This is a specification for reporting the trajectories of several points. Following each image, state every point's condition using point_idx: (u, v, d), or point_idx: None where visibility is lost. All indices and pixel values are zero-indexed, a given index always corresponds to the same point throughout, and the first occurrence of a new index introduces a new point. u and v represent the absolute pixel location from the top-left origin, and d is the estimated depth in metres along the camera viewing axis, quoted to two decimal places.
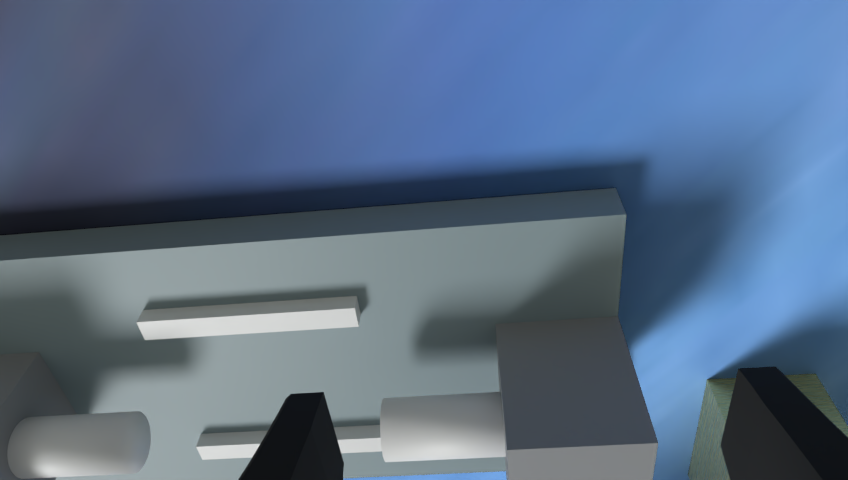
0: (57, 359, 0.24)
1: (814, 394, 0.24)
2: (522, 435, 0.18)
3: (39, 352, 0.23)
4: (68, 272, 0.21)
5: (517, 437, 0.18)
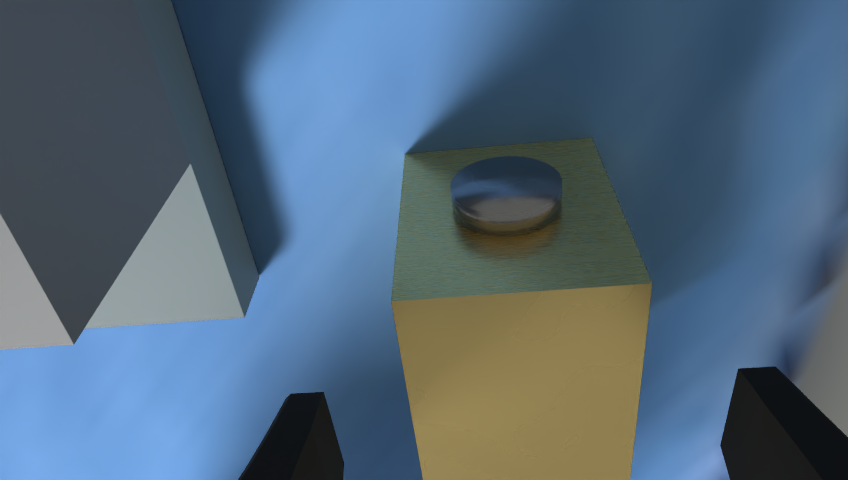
0: None
1: (577, 162, 0.13)
2: None
3: None
4: None
5: None
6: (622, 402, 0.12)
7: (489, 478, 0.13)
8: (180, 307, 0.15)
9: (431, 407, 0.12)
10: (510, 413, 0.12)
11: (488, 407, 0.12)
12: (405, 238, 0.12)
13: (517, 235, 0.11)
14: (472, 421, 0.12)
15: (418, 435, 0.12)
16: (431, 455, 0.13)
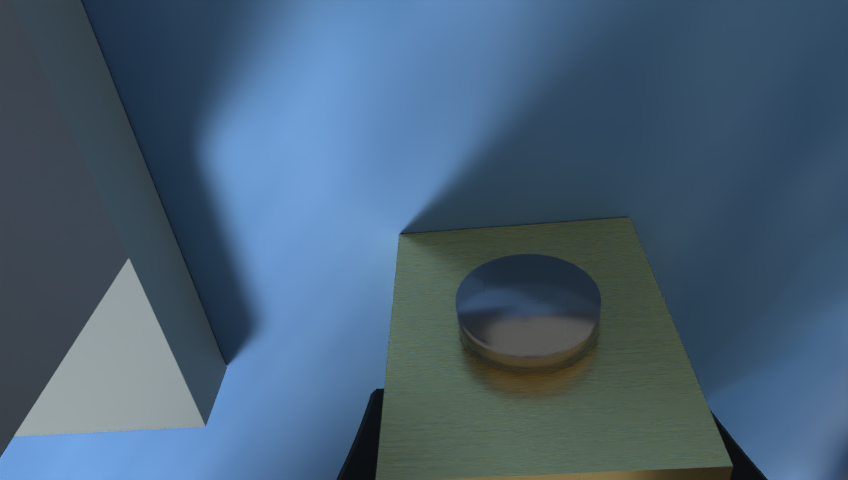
0: None
1: (615, 256, 0.11)
2: None
3: None
4: None
5: None
6: None
7: None
8: (127, 415, 0.12)
9: None
10: None
11: None
12: (396, 372, 0.09)
13: (542, 373, 0.09)
14: None
15: None
16: None
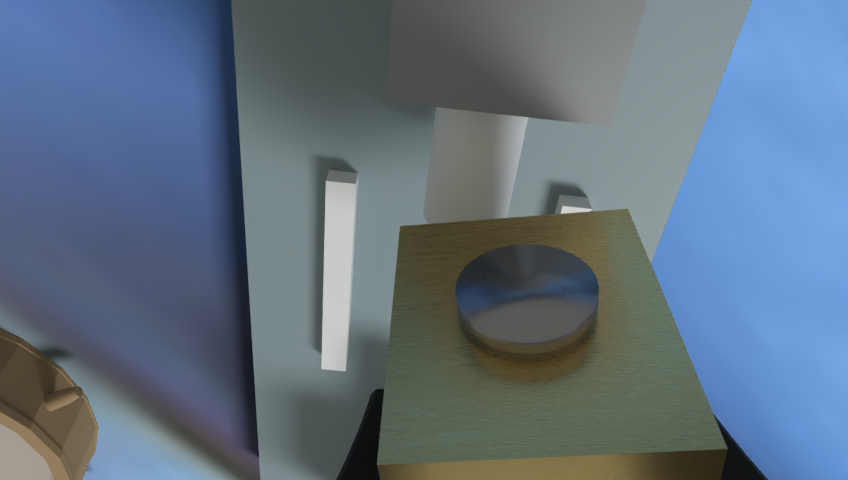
0: None
1: (613, 246, 0.11)
2: None
3: None
4: (273, 388, 0.23)
5: None
6: None
7: None
8: None
9: None
10: None
11: None
12: (397, 359, 0.09)
13: (541, 360, 0.09)
14: None
15: None
16: None
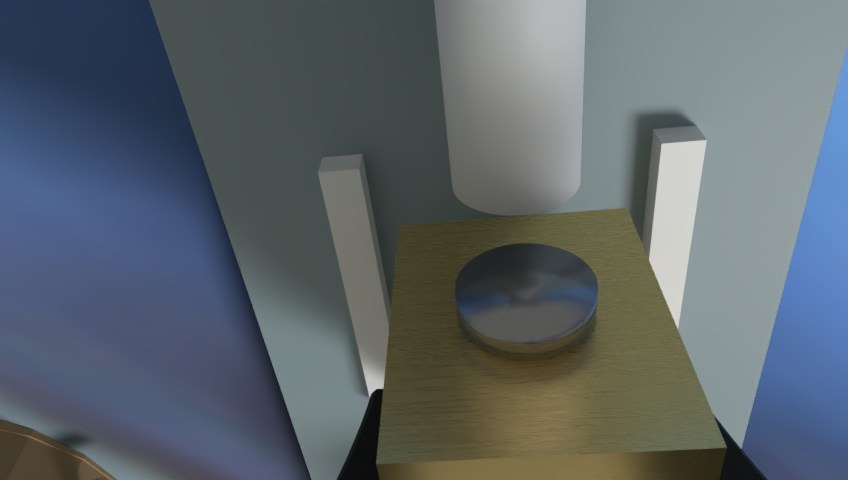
0: None
1: (612, 246, 0.11)
2: None
3: None
4: (325, 449, 0.18)
5: None
6: None
7: None
8: None
9: None
10: None
11: None
12: (396, 358, 0.09)
13: (540, 359, 0.09)
14: None
15: None
16: None
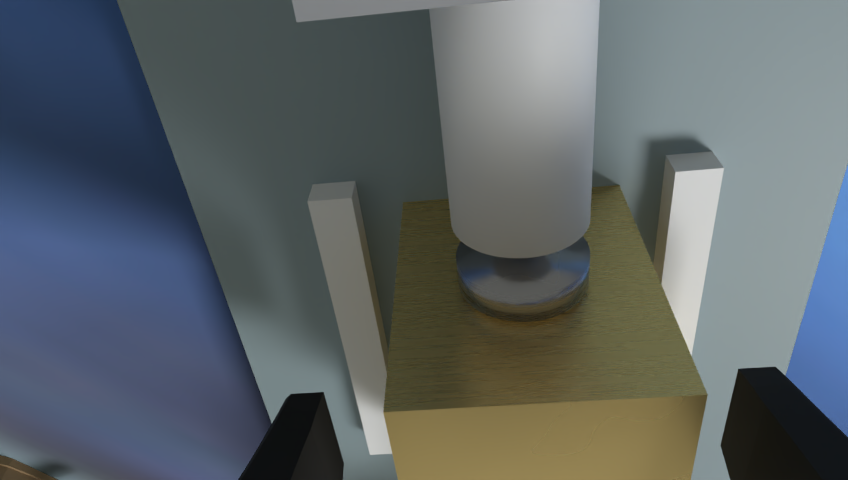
0: None
1: (604, 219, 0.11)
2: None
3: None
4: None
5: None
6: None
7: None
8: None
9: None
10: None
11: None
12: (401, 320, 0.10)
13: (535, 320, 0.09)
14: None
15: None
16: None
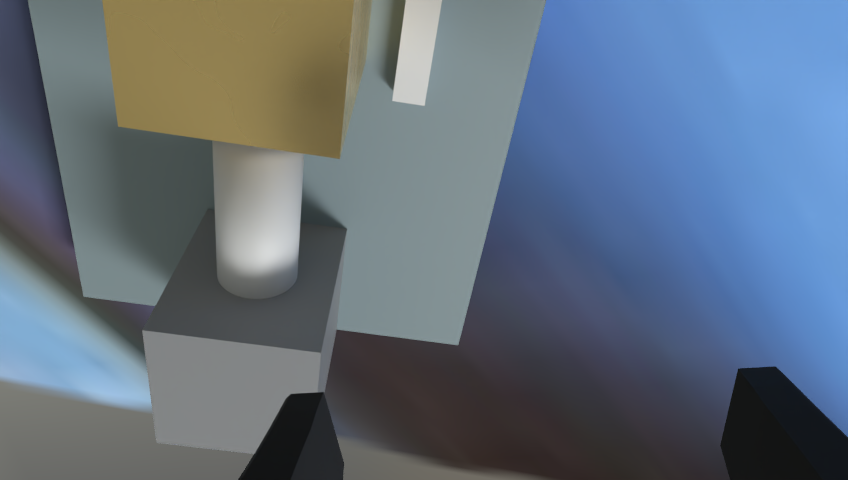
0: None
1: None
2: None
3: (208, 209, 0.19)
4: (74, 109, 0.17)
5: None
6: None
7: (187, 66, 0.11)
8: None
9: None
10: None
11: None
12: None
13: None
14: None
15: None
16: (118, 7, 0.11)
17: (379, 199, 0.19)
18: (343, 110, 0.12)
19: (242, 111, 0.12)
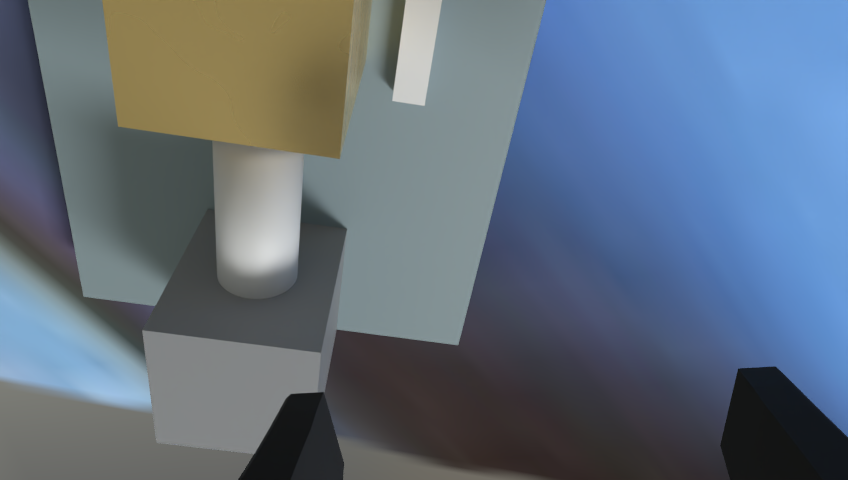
0: None
1: None
2: None
3: (208, 209, 0.19)
4: (74, 109, 0.17)
5: None
6: None
7: (187, 66, 0.11)
8: None
9: None
10: None
11: None
12: None
13: None
14: None
15: None
16: (118, 7, 0.11)
17: (379, 199, 0.19)
18: (343, 110, 0.12)
19: (242, 111, 0.12)
